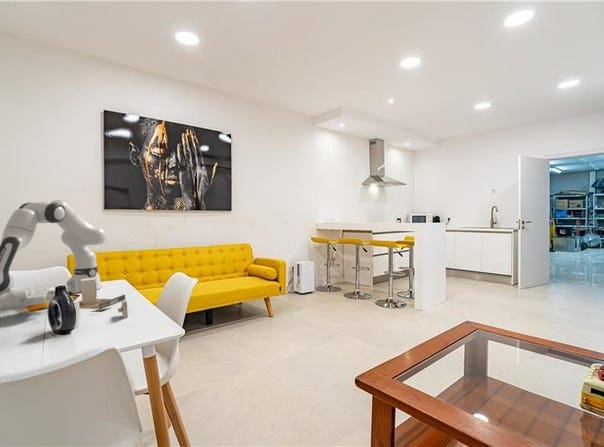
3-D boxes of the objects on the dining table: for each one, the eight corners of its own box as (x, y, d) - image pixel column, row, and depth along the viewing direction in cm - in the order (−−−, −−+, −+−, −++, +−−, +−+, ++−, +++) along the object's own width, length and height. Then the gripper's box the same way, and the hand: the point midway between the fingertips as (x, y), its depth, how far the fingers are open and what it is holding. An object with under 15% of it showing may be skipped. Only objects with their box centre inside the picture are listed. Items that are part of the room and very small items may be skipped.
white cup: (85, 324, 136) (83, 301, 136) (70, 331, 128) (68, 307, 128) (68, 324, 137) (67, 301, 137) (52, 331, 129) (50, 307, 129)
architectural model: (119, 320, 142) (118, 303, 142) (117, 316, 148) (116, 300, 147) (127, 318, 144) (127, 302, 144) (126, 314, 150) (125, 299, 149)
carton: (82, 304, 162) (81, 281, 161) (82, 301, 167) (81, 279, 166) (97, 301, 165) (95, 279, 165) (96, 299, 170) (95, 277, 170)
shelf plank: (61, 310, 157) (60, 302, 157) (88, 301, 173) (88, 293, 172) (102, 312, 153) (101, 303, 153) (125, 302, 168) (125, 294, 168)
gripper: (19, 296, 142) (57, 291, 150) (25, 288, 159) (60, 283, 167) (20, 310, 142) (58, 304, 150) (26, 300, 159) (60, 295, 167)
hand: (59, 293), depth 159 cm, fingers open, 8 cm apart
